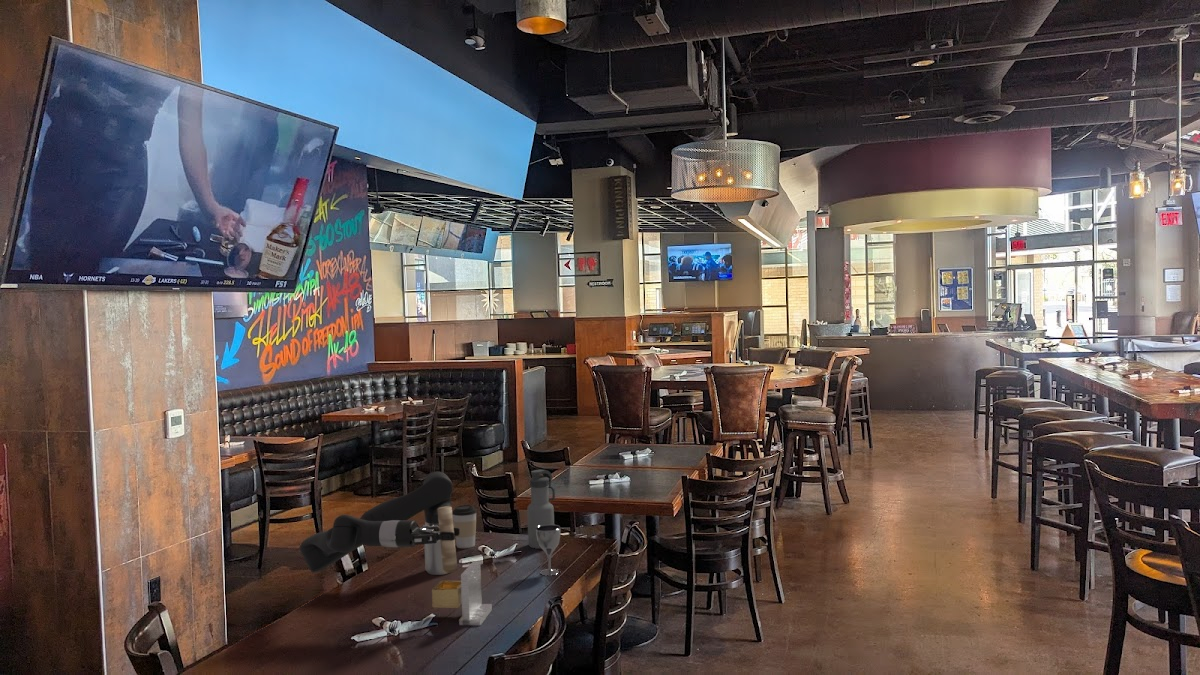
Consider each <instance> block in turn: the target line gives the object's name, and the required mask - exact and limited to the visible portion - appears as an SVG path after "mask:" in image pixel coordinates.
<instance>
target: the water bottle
mask: <svg viewBox="0 0 1200 675" xmlns="http://www.w3.org/2000/svg"><path fill="white" fill-rule="evenodd" d="M530 475H531V478H530V479H529V487H530V503H529V505H528V506H527V508H526V509H527V511H526V512H527V513H526V514H527V517H526V518H527V535H528V536H527V537H528V539H527V540H528V542H527V543H528V546H529V547H530V548H532V549H534V548H535V549H536V550H543V549H542V548H541V547H540V546H539V544H538V541H537V535H536V528H537V527H538V526H541V525H547V524H553V525H555V512H554V511H555V509H554V508H555V507H554V505H553V504H552V503H551V502H550V501H554V500H555V499H556V495H555V494H556V492H555V491H556V490H555V487H554V486H552V482H553V475H552V473H551V472H550V471H549V470H547V469H534V470H531V471H530ZM549 489H551V491H552V497H550V495H549V494H550V493H549ZM535 549H534V550H535Z"/></svg>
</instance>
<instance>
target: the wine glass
mask: <svg viewBox="0 0 1200 675" xmlns="http://www.w3.org/2000/svg"><path fill="white" fill-rule="evenodd" d="M536 535H537V541H538V544H539V546H540V547H541V548H542V549H541V550H543V552H544V553H545V555H546V556H547V563H548V565H547V568H546V569H542V570H540V571H541V572H540V571H539V572H540V573H541V574H542V575H545V576H544V577H553V576H552V575H555V576H558V575H559V574H558V573H559V571H558V570H559V569H557V570H556V568H552V565H551V562H552V555H553V553H554V551H555V550H556V549H557V547H558V545H559V544H560V540H561V525H558V524H554V525H553V524H547V525H541V526H538V527H537V528H536ZM557 574H558V575H557ZM542 575H541V576H542ZM547 575H548V576H547Z"/></svg>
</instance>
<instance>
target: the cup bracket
mask: <svg viewBox="0 0 1200 675" xmlns="http://www.w3.org/2000/svg"><path fill="white" fill-rule="evenodd" d="M481 569H482V568H481V560H478V561H477V560H474V561H472V562H471V563H470V564H469V565H468V566H467V567H466V569H464V571H463V572H462V573H461V574H460V580H440V581H439V582H438V583H437V584H436V585H435V586H434V587H433V588H432V589H431V601H432V602H431V603H432V606H431V607H432V608H438V609H439V608H441V609H442V608H443V609H446V608H450V609H452V608H454V609H456V608H457V609H458V608H460V607H461V613H462V614H461V616H460V618H459V619H458V622H459V623H458V625H459V626H481V625H483V622H485V620H486V619H487V617H488V615H490V613H491V612H492V610H493V604H492V603H483V600H482V596H483V595H482V572H481Z"/></svg>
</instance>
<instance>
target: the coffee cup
mask: <svg viewBox="0 0 1200 675" xmlns="http://www.w3.org/2000/svg"><path fill="white" fill-rule="evenodd" d="M452 511H453V527H454V528H459V529H460V535H458V536H455V546H456V548H458V549H469V548H472V547H475V545H476V533H477V532H476V531H477V512H478V511H477V508H475V507H474V505H471V504H462V505H458V506H456V507H454V509H452Z"/></svg>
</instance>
